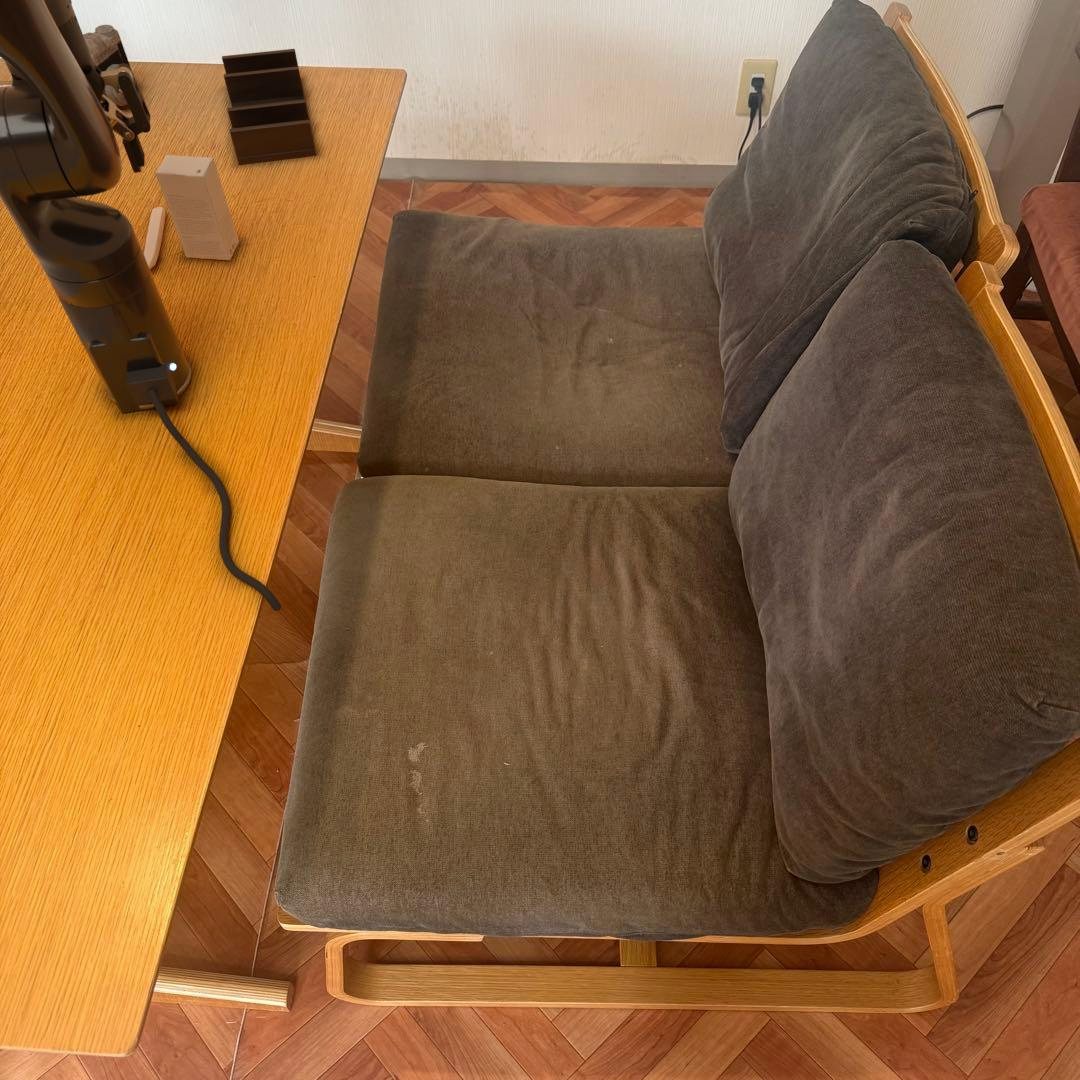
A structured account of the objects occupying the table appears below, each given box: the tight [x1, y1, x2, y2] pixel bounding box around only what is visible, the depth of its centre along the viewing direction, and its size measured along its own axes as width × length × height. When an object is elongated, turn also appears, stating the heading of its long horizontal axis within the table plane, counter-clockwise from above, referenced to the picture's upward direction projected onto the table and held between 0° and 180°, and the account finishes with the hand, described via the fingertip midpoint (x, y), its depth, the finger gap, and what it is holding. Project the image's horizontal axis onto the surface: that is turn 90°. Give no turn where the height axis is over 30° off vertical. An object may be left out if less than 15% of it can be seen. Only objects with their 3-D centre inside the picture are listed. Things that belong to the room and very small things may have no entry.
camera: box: [82, 24, 131, 108], centre depth 132 cm, size 15×7×10 cm, turn 162°
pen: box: [143, 206, 166, 270], centre depth 116 cm, size 2×14×2 cm, turn 8°
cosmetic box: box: [154, 154, 240, 261], centre depth 111 cm, size 6×4×12 cm
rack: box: [221, 48, 317, 166], centre depth 133 cm, size 22×11×5 cm, turn 15°
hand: (96, 173), depth 95 cm, fingers open, 8 cm apart
